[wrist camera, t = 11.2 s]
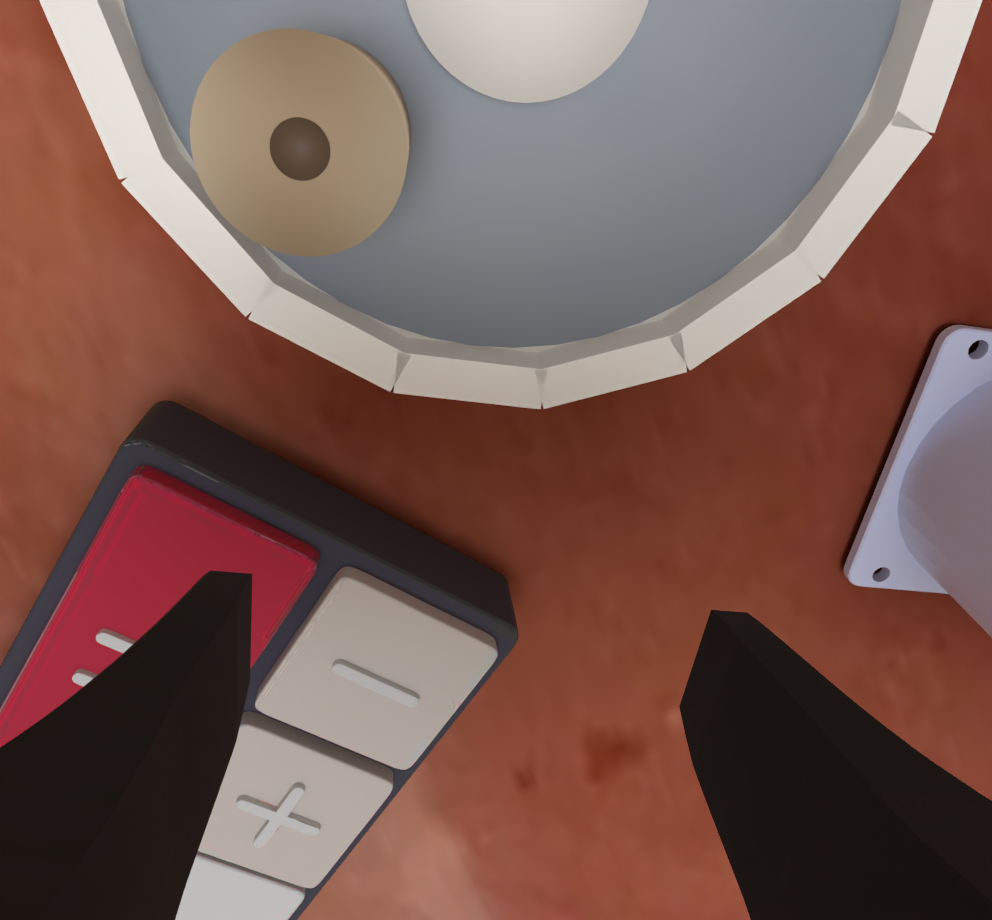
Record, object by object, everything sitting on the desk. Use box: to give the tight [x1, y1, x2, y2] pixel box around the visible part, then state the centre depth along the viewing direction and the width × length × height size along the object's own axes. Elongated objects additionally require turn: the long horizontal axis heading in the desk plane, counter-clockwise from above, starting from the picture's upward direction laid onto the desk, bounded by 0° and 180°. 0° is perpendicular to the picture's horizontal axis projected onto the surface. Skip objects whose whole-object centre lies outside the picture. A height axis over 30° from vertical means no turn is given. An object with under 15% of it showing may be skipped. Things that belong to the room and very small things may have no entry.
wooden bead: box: [190, 28, 411, 257], centre depth 15 cm, size 4×4×4 cm
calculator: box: [0, 401, 518, 920], centre depth 23 cm, size 11×4×15 cm
